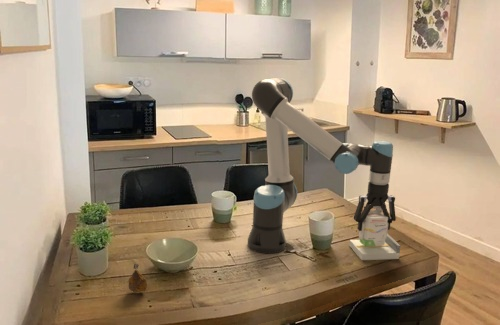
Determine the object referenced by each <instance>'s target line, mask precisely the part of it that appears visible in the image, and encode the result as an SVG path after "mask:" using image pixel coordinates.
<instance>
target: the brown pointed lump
mask: <svg viewBox="0 0 500 325" xmlns="http://www.w3.org/2000/svg"><path fill="white" fill-rule="evenodd" d="M139 265H140V264H137V263H134V265H133V269H134V272H133V273H132V274H131V277H129V278H128V289H129V290H130V291H131V292H133V293H134V294H135V293H138V292H146V291H147V286H148V283H147V279H146V277H145V276H144V275H142V273H141V272H140V271H139V270H138V269H139Z"/></svg>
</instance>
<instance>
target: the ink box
mask: <svg viewBox="0 0 500 325" xmlns="http://www.w3.org/2000/svg"><path fill="white" fill-rule="evenodd" d="M364 208H365V206H363V209H364ZM372 209H373V210H372ZM372 209H371V210H370V212H369V213H368V215H367V217H366V218H365V220H364V223H365V227H364V236H363V239H362V240H361V239H360V238H359V240H360V242H361V243H362V244H363V245H364V246H365V247H366V246H380V245H384V244H385V237H386V229H387V221H388V217H387V216H385V215H384V214H383V211H382V209H381V206H373V208H372ZM374 209H375V210H374Z"/></svg>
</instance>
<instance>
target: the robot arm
mask: <svg viewBox="0 0 500 325" xmlns="http://www.w3.org/2000/svg"><path fill="white" fill-rule="evenodd" d="M293 96H294V90H293V87H292V85H291V84H290V82H288V80H286V79H284V78H282V77H271V78H267V79H261V80H260V81H258V82H257V83H256V84H255V85H254V86H253V89H252V91H251V99H252V102H253V104H254V106H255V107H256V108H257V109H258V110H259V111H260V112H261V115H262V116H264V118H265V132H266V135H265V136H266V152H267V167H268V175H267V176H266V177H265V178H264V180H265V185H261V186H258V187H257V188H256V189H255V190H254V195H253V213H252V226H251V228H250V229H251V230H250V233H249V234H248V237H247V247H248V248H249V249H250V250H252V251H253V252H256V253H262V254H276V253H279V252H282V251H284V250H285V249H286V247H285V246H286V243H287V241H286V237H285V233H284V229H283V225H284V224H283V223H284V222H283V221H284V213H285V212H286V211H287V210H288V209H289V208H291V207H292V206H293V205H294V204H295V202H296V200H297V197H298V189H297V186H296V184H295V183H294V182H295V181H294V180H295V178H294V177H293V176H292V175H291V174H290V155H289V154H290V153H289V138H288V137H289V134H288V130H290V131H291V132H292V133H293V134H295V135H296V136H297V137H298V138H300V139H301V140H303V141H304V142H305V143H307V144H308V145H309V146H311V148H313V149H314V150H316V151H317V152H318V153H320V154H321V155H322V156H324V157H325V158H326V159H328V160H329V161H330V162H331V163H332V164H334V167H335V169H336V170H337V171H338V172H339V173H340V174H344V175H348V174H351V173H353V172H354V171H356V170H357V169H358V166H359V165H361V166H367V167H368V166H369V175H368V185H367V193H366V194H365V195H363V196H362V195H359V196H358V203H357V206H356V210H355V212H354V215H353V220H354V221H355V222H356V223H357V226H356V227H357V230H358V238H359V240H360V239H361V240H362V239H363V236H364V227H365V223H364V220H365V218H366V217H367V215H368V213H369V212H370V211H371V210H372V209H374V208H373V206H381V209H382V214H384V215H385V216H387V217H388V221H387V229H386V237H385V239H387V234H388V232H389V231H390V228H391V224H392V223H393V222H395V221H396V220H397V217H396V209H395V208H396V207H395V201H396V197H395V196H393V194H392V195H391V194H390V195H388V193H389V188H390V184H389V183H390V179H391V171H392V170H391V169H392V164H393V157H394V145H393V144H392V143H391V142H389V141H387V140H375V141H373V142H372V144H371V145H366V144H365V145H364V144H357V143H351V142H348V143H346V142H341V141H340V140H339V139H338V138H336V137H335V136H333V135H332V134H331V133H330V132H328V131H327V130H326V129H324V128H323V127H322V126H320V125H319V124H318V123H316V122H315V121H314V120H312V119H311V118H310V117H309V116H307V115H305V114H304V113H303V112H302V111H300V110H299V109H298V108H297V107H295V106H294V105H292V103H291V102H292V99H293ZM366 201H367V202H366ZM387 201H388V209H387V205H386V202H387ZM365 203H366V204H365ZM364 207H365V208H364ZM388 210H389V211H388Z"/></svg>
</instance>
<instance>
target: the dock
mask: <svg viewBox="0 0 500 325" xmlns="http://www.w3.org/2000/svg"><path fill="white" fill-rule="evenodd" d="M348 245H349V246H348V247H350V248H351V249H352V251H353V252H354V253H355V254H356V255H357V257H358V259H360V260H361V261H374V260H376V261H380V260H399V259H400V252H401V245H400V244H399V243H398V242H397V241H396V240H395V239H394V238H393V237H392V236H391V235H390V234H389V233H387V239H385V244H384V245H380V246H366V247H365V246H364V245H363V244H362V243H361V242H360V239H349V244H348Z"/></svg>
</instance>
